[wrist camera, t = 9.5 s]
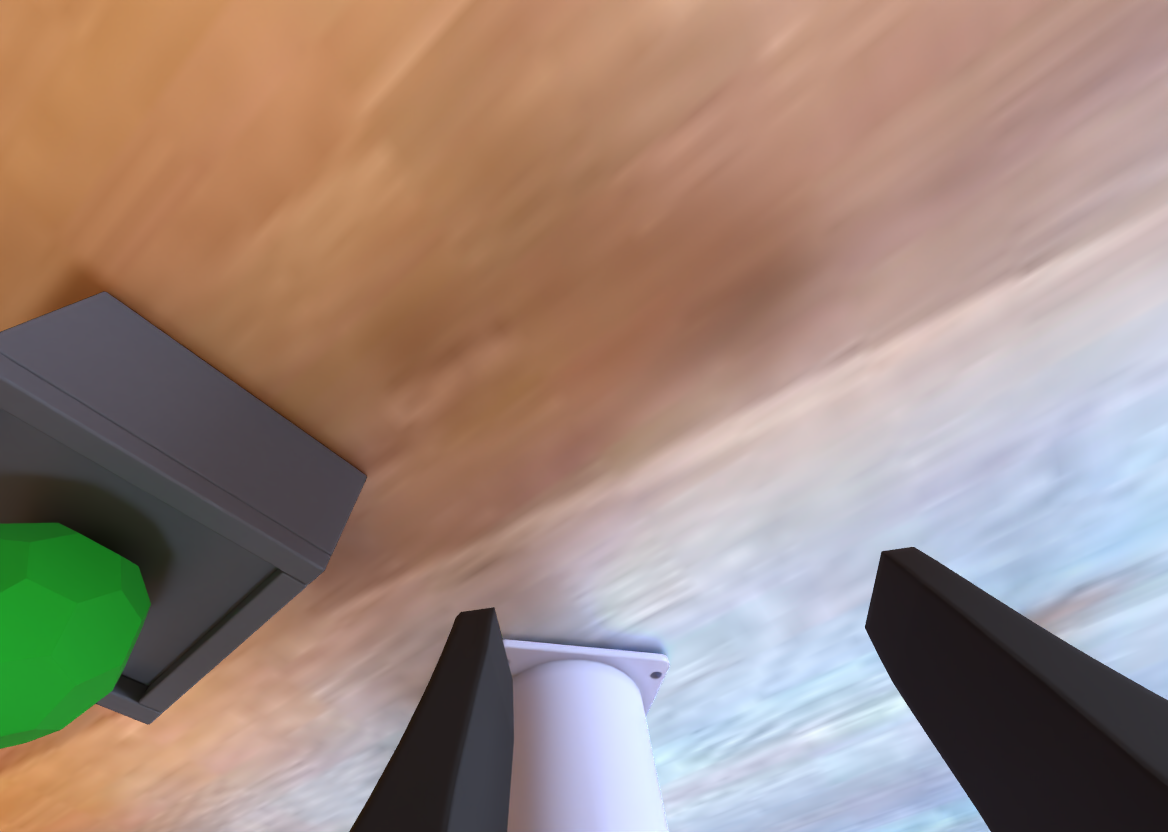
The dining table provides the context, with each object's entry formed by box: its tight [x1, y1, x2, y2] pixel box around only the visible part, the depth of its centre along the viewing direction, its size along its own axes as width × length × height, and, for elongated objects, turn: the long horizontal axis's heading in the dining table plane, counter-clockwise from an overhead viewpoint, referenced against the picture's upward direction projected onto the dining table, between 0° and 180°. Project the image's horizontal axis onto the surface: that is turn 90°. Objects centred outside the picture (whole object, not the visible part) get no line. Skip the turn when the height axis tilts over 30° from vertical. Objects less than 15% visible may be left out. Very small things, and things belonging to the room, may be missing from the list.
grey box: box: [0, 292, 367, 724], centre depth 16 cm, size 9×9×5 cm
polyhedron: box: [0, 523, 151, 749], centre depth 13 cm, size 5×5×5 cm
